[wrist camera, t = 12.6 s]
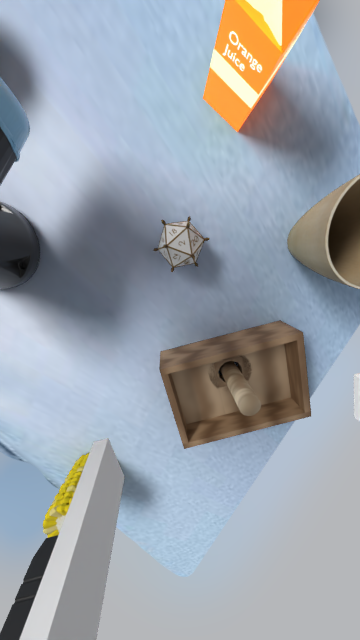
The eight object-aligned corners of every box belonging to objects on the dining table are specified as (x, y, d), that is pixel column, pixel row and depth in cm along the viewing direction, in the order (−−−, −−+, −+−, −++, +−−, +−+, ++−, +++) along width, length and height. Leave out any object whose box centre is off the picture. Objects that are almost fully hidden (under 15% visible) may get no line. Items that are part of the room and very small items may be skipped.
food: (97, 478, 56) (71, 452, 54) (130, 466, 53) (104, 437, 51) (57, 558, 42) (20, 527, 40) (99, 549, 39) (61, 514, 37)
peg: (220, 374, 49) (241, 418, 35) (217, 360, 48) (237, 399, 34) (235, 370, 49) (262, 412, 35) (233, 356, 48) (259, 394, 34)
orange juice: (272, 81, 35) (401, -135, 16) (237, 133, 37) (317, -7, 18) (236, 42, 34) (331, -252, 14) (201, 97, 35) (245, -99, 16)
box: (181, 420, 51) (184, 448, 44) (160, 351, 46) (159, 369, 39) (289, 392, 51) (311, 416, 44) (280, 320, 46) (303, 332, 39)
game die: (177, 236, 44) (192, 193, 35) (204, 267, 43) (227, 231, 34) (141, 255, 40) (148, 212, 31) (170, 289, 39) (185, 255, 30)
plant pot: (256, 221, 41) (311, 197, 25) (331, 183, 40) (435, 134, 24) (281, 292, 45) (342, 309, 29) (350, 259, 44) (449, 258, 28)
